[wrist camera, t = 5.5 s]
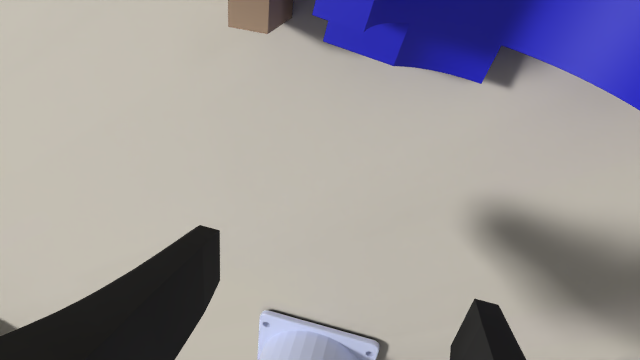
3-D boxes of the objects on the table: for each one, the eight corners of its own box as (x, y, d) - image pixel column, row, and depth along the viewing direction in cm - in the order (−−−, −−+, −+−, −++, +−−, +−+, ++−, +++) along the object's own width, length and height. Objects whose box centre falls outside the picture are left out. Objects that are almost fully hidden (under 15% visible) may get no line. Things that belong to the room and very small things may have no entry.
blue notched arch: (339, 23, 17) (299, 66, 12) (375, -104, 15) (343, -115, 10) (621, 121, 17) (699, 208, 12) (710, 6, 14) (858, 55, 9)
